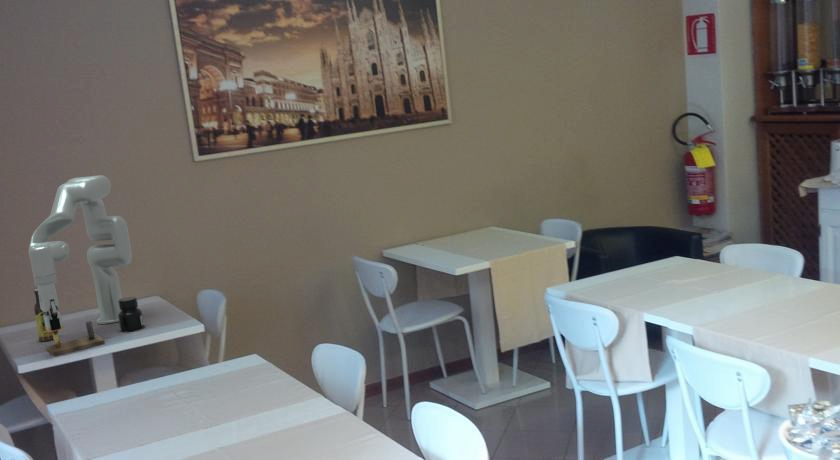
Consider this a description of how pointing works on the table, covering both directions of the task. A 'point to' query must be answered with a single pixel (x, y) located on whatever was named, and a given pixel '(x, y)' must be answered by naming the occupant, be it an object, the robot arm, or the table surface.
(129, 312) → the ink bottle
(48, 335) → the sauce bottle
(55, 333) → the brass pin
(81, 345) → the pin board
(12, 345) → the table surface
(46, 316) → the sleeve
